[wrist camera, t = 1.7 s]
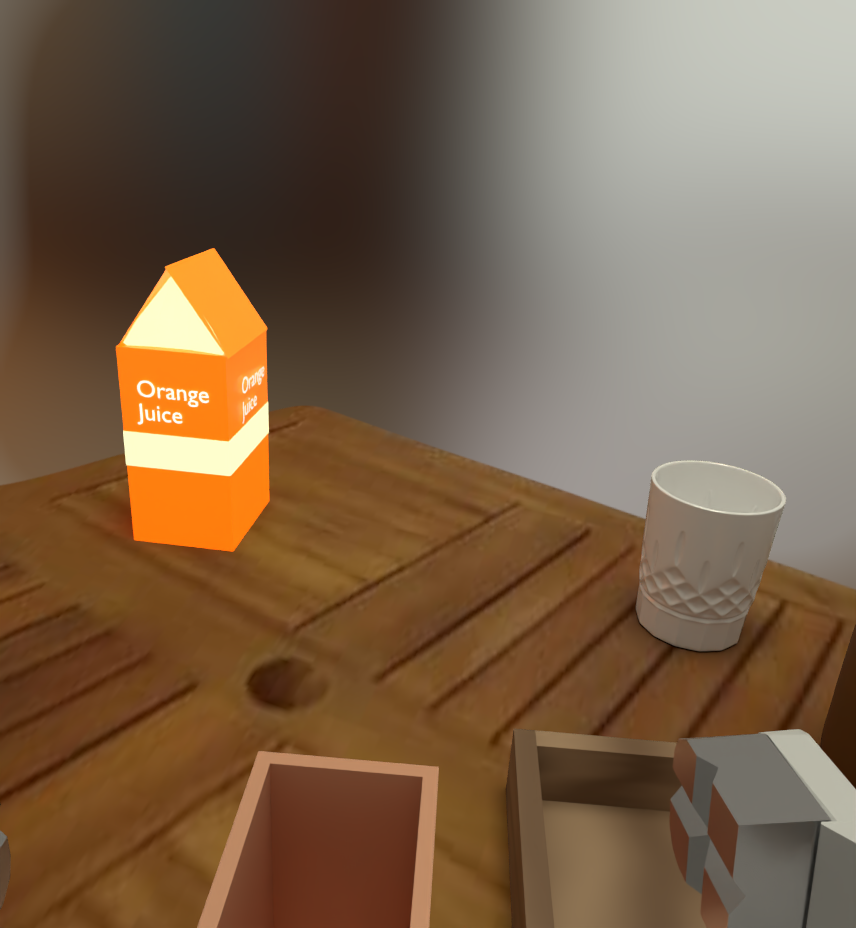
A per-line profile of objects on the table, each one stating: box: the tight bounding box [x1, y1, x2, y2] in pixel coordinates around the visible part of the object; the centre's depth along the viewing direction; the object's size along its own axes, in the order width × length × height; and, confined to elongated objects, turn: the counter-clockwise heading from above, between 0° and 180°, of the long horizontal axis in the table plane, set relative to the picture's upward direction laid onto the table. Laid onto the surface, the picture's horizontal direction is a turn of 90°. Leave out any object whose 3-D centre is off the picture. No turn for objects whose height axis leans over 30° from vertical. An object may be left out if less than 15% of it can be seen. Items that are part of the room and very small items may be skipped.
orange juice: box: [116, 248, 269, 551], centre depth 59 cm, size 8×9×20 cm
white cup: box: [636, 461, 786, 651], centre depth 52 cm, size 8×8×10 cm
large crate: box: [506, 729, 706, 928], centre depth 33 cm, size 11×12×4 cm
